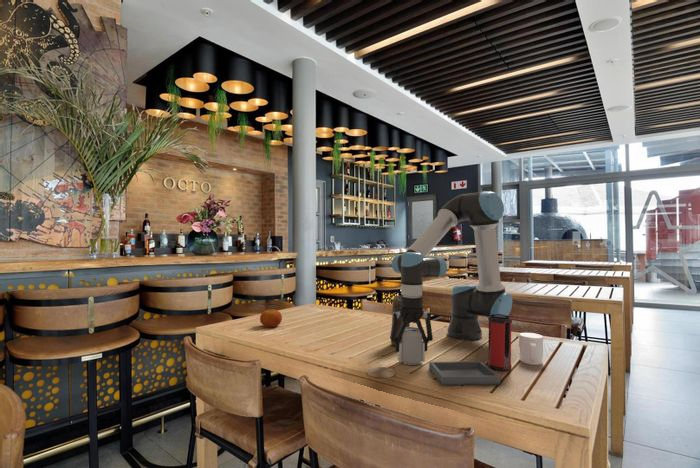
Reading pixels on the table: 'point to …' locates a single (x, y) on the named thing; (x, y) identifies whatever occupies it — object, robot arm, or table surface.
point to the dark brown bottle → (397, 309)
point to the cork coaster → (381, 372)
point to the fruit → (271, 318)
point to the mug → (531, 348)
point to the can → (411, 346)
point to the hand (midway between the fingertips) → (411, 360)
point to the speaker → (499, 342)
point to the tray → (463, 373)
